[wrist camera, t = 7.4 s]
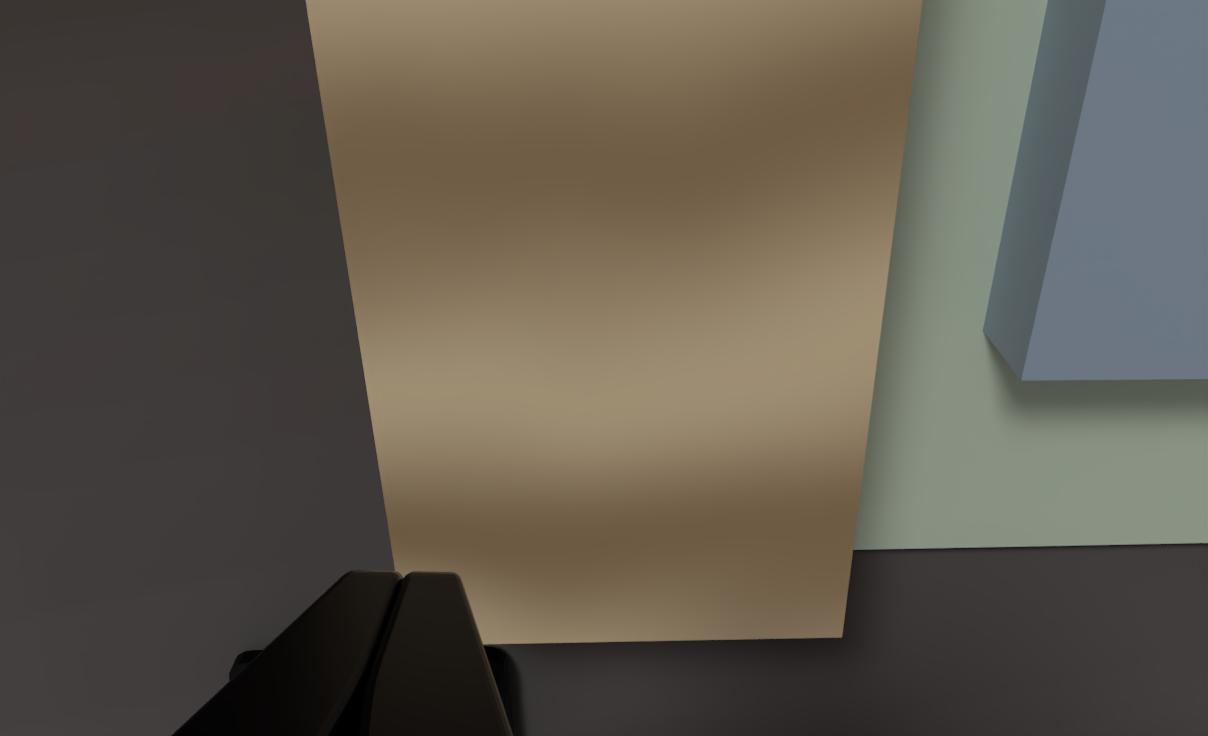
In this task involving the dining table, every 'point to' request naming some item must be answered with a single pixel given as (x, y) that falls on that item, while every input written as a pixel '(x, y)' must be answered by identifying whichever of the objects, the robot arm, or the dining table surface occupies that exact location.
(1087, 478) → the mat
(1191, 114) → the slate blue board
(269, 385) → the dining table surface
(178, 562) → the dining table surface
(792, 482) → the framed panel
